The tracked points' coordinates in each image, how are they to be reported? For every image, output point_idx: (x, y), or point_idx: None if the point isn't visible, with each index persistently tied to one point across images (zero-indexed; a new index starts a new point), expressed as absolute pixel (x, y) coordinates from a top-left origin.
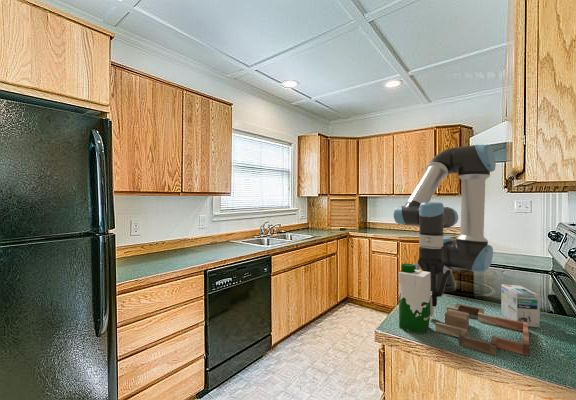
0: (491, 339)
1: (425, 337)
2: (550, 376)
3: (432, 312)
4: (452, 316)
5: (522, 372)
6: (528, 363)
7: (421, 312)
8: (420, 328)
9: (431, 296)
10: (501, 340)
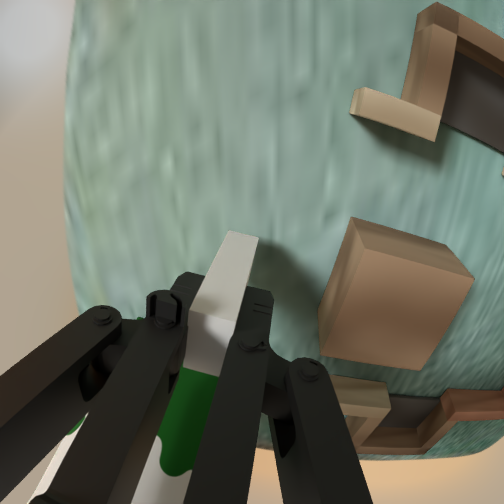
0: (437, 432)
1: None
2: (477, 444)
3: (248, 280)
4: (359, 361)
5: (434, 457)
6: (473, 427)
7: None
8: None
9: (216, 357)
10: (466, 419)
